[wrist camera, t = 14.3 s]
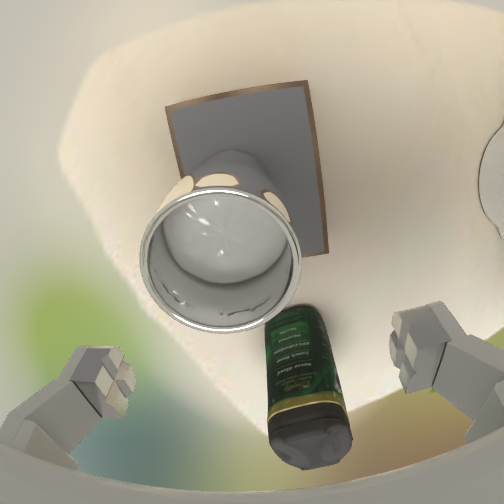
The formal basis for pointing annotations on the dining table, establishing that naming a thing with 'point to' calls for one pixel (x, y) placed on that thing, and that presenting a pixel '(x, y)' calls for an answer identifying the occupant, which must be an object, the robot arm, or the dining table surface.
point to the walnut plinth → (261, 146)
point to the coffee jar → (304, 392)
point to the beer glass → (222, 247)
